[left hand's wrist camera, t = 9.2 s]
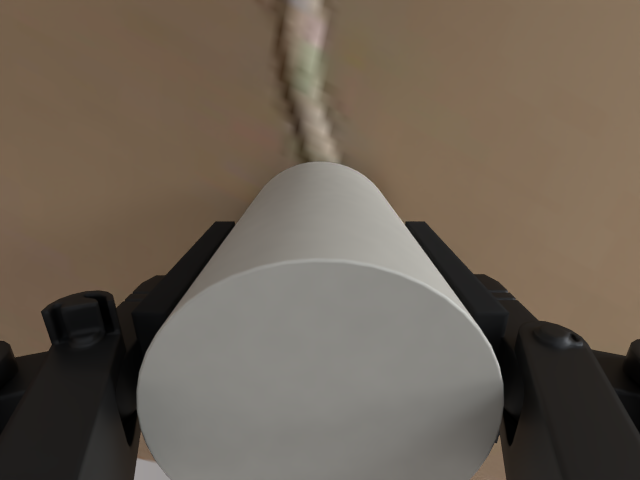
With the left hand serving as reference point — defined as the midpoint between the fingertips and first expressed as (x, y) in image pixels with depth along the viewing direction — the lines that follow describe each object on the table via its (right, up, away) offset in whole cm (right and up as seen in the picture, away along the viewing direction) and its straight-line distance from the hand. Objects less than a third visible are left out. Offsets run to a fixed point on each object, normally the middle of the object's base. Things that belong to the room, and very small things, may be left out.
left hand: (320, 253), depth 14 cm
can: (0, +1, +2) cm, 2 cm away
